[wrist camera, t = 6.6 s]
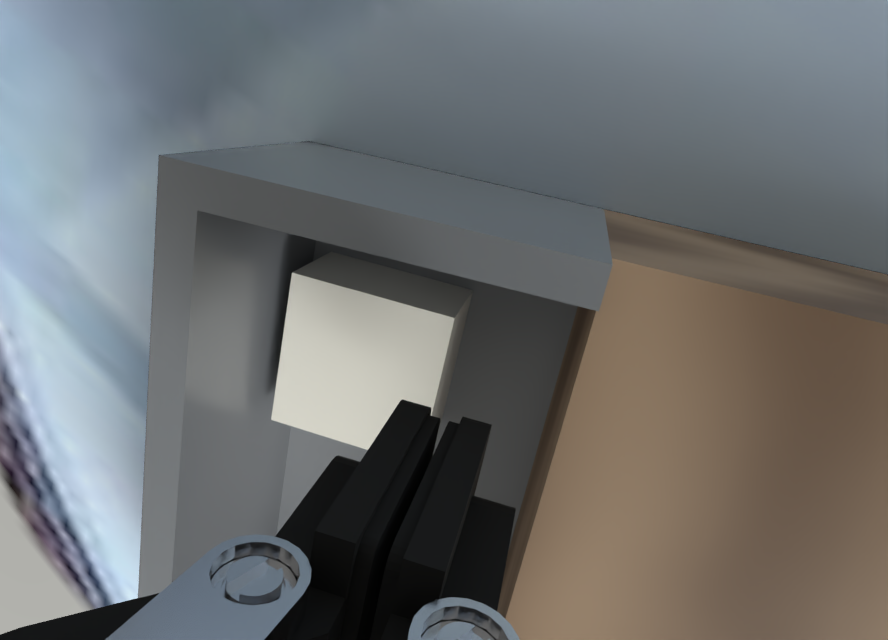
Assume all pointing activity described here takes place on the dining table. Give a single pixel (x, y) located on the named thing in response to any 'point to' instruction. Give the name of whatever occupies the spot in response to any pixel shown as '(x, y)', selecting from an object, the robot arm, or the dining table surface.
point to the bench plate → (711, 452)
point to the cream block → (364, 346)
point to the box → (264, 311)
